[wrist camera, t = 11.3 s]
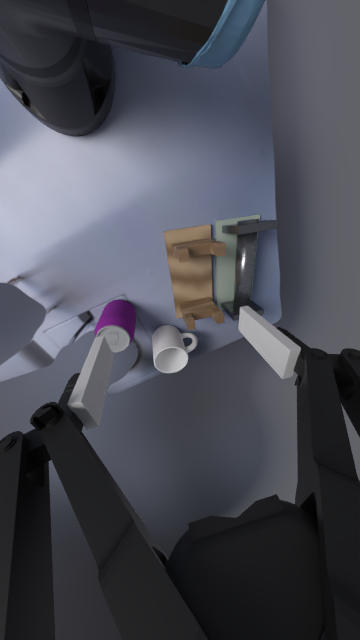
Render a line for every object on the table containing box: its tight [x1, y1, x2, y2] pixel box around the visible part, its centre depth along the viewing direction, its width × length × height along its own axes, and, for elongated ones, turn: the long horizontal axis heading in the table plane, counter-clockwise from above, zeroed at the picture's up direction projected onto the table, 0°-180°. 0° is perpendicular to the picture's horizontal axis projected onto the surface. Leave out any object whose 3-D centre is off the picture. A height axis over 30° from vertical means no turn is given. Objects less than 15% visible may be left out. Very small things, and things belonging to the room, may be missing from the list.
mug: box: [152, 325, 198, 373], centre depth 44 cm, size 12×8×10 cm
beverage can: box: [95, 300, 136, 353], centre depth 37 cm, size 8×8×12 cm
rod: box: [221, 219, 278, 321], centre depth 39 cm, size 21×8×8 cm, turn 7°
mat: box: [216, 215, 260, 310], centre depth 42 cm, size 22×10×1 cm, turn 7°
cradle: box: [164, 225, 226, 330], centre depth 37 cm, size 21×10×11 cm, turn 7°
